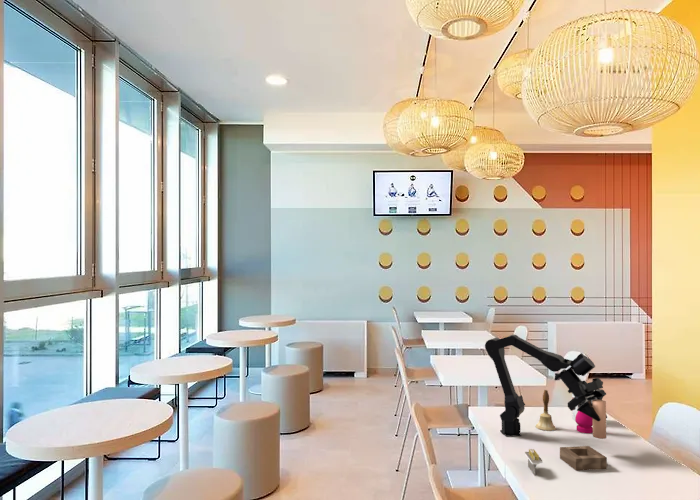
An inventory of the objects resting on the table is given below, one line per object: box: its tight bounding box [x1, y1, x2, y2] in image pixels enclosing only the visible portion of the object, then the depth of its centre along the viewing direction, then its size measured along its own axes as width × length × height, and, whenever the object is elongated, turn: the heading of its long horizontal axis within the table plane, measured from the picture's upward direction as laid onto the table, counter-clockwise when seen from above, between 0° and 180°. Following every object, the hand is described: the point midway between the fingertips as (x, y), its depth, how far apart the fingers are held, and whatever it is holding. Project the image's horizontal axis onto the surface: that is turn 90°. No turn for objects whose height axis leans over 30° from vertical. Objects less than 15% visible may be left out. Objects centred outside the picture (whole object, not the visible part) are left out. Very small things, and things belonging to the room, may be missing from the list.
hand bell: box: [535, 389, 557, 432], centre depth 221 cm, size 8×8×16 cm
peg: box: [592, 399, 607, 440], centre depth 191 cm, size 4×4×13 cm
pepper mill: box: [574, 411, 593, 434], centre depth 217 cm, size 7×7×20 cm
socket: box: [559, 445, 608, 472], centre depth 182 cm, size 11×11×4 cm
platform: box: [524, 448, 543, 476], centre depth 176 cm, size 12×18×7 cm, turn 176°
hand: (603, 419), depth 190 cm, fingers closed on peg, 4 cm apart
